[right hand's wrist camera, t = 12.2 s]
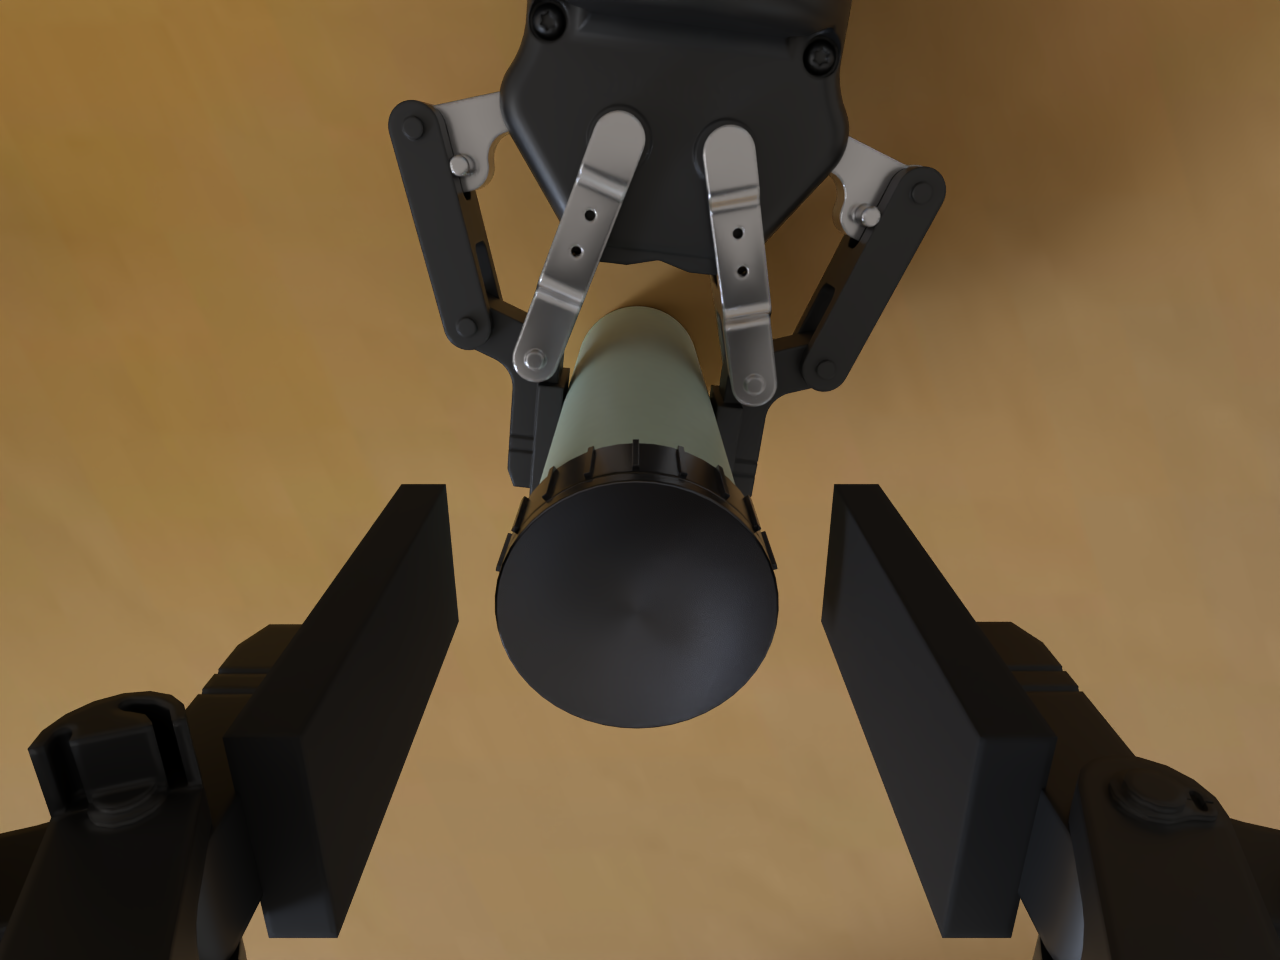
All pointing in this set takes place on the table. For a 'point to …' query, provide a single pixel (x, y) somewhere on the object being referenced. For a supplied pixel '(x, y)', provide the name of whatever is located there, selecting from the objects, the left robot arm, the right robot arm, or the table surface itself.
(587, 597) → the lid
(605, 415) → the bottle
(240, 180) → the table surface
